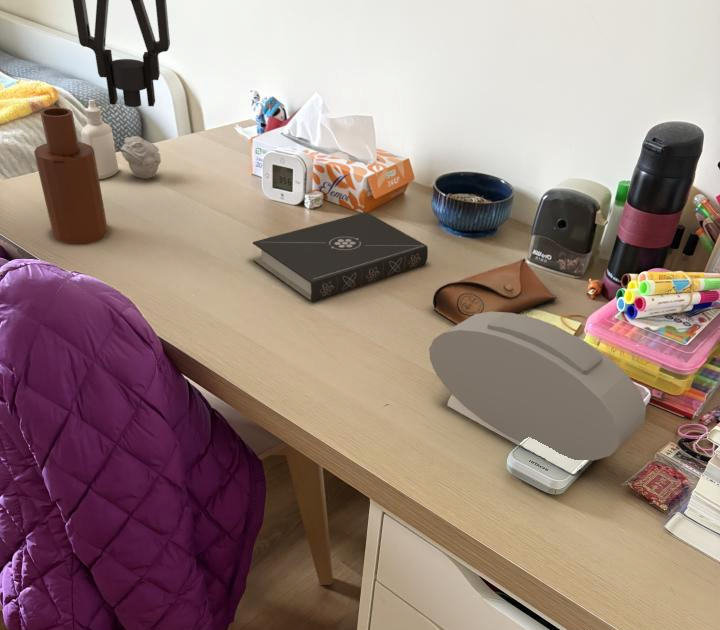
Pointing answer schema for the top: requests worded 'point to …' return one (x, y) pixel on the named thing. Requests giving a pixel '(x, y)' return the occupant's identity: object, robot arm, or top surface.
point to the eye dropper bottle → (100, 142)
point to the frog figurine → (141, 156)
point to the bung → (129, 79)
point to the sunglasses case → (492, 293)
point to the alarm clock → (537, 384)
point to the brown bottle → (70, 181)
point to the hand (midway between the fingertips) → (132, 102)
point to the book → (339, 255)
